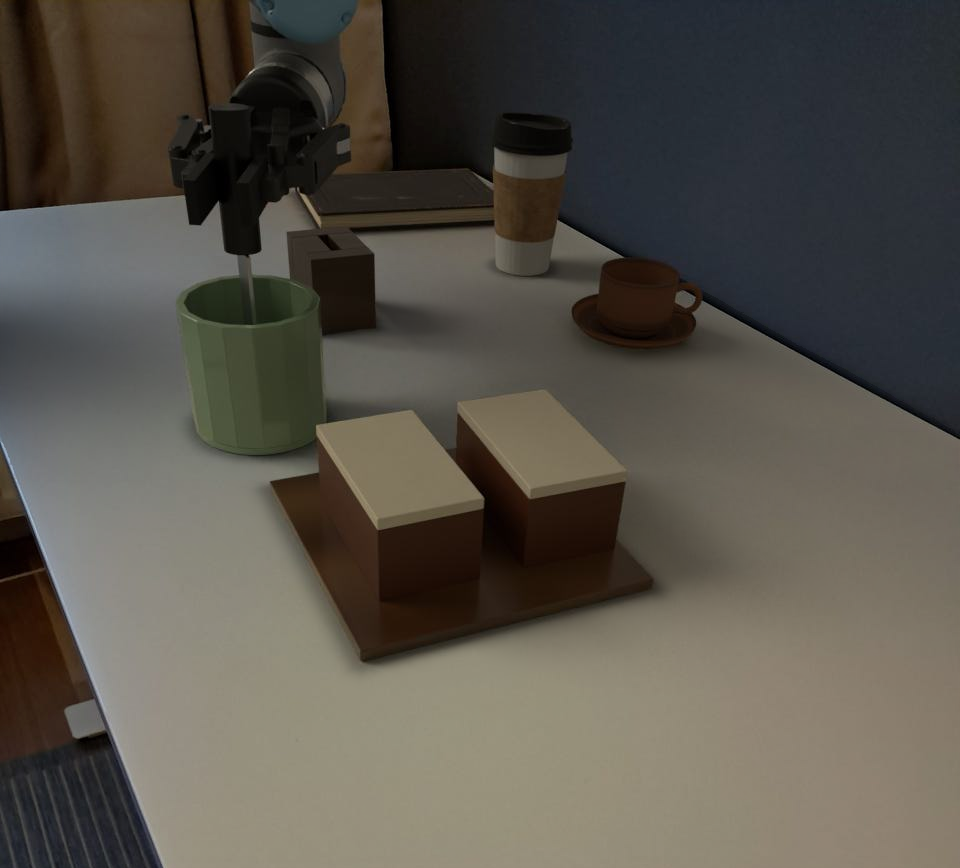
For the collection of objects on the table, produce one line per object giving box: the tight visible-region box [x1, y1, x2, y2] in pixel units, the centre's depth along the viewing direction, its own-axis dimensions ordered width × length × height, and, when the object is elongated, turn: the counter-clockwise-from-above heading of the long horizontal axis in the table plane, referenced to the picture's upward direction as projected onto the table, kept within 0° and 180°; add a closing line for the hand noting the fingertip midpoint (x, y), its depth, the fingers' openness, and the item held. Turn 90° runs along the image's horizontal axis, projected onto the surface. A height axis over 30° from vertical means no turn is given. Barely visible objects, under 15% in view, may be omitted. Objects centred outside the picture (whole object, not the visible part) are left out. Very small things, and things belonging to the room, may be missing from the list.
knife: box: [208, 102, 263, 325], centre depth 70 cm, size 4×3×22 cm
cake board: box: [269, 447, 655, 662], centre depth 67 cm, size 20×20×1 cm
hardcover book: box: [294, 168, 495, 233], centre depth 121 cm, size 16×23×2 cm
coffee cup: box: [490, 111, 574, 277], centre depth 103 cm, size 8×8×15 cm
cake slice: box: [455, 388, 628, 568], centre depth 66 cm, size 12×7×6 cm, turn 23°
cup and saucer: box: [571, 256, 703, 350], centre depth 93 cm, size 12×12×6 cm
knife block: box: [286, 226, 377, 336], centre depth 93 cm, size 8×6×7 cm
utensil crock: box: [175, 274, 328, 456], centre depth 74 cm, size 10×10×10 cm
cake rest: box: [316, 409, 484, 601], centre depth 63 cm, size 12×7×6 cm, turn 24°
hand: (218, 204), depth 62 cm, fingers closed on knife, 3 cm apart
